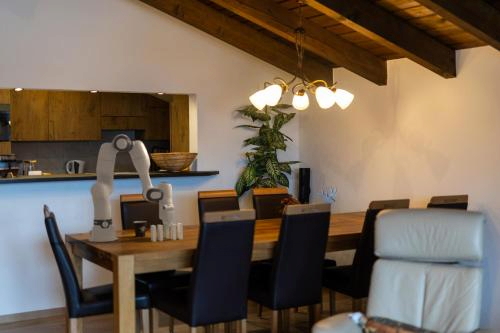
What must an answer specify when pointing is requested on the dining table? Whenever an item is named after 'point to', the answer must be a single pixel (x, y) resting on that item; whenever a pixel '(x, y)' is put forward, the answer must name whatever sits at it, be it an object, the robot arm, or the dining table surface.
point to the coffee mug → (140, 228)
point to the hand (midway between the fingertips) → (166, 227)
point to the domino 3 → (166, 231)
